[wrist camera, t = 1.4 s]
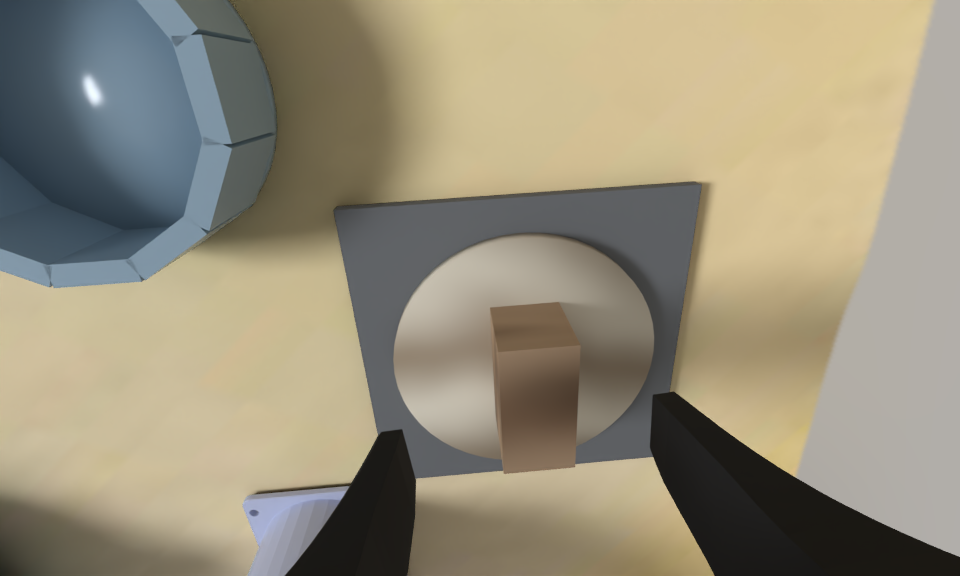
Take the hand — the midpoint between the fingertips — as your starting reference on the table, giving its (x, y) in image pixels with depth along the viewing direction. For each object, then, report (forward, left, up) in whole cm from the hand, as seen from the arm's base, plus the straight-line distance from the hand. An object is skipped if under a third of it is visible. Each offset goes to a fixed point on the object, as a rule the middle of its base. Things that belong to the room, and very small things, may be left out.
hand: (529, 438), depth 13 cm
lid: (-3, -1, -8) cm, 9 cm away
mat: (-3, -1, -9) cm, 9 cm away
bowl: (+9, +14, -9) cm, 19 cm away
